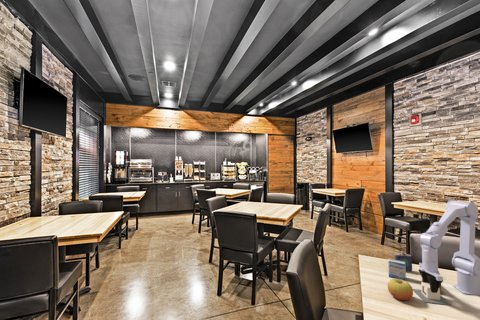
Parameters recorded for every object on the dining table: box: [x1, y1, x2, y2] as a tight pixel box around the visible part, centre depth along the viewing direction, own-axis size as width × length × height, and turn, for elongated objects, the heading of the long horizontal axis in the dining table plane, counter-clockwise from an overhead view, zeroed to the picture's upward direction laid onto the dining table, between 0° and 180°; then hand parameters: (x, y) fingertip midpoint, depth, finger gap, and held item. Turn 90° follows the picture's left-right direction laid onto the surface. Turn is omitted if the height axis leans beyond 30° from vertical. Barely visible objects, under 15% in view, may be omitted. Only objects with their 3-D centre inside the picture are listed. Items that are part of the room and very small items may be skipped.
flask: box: [393, 250, 413, 272], centre depth 136 cm, size 9×3×11 cm, turn 76°
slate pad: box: [412, 288, 452, 306], centre depth 108 cm, size 10×11×1 cm
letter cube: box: [420, 281, 441, 300], centre depth 108 cm, size 5×5×5 cm
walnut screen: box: [421, 278, 445, 296], centre depth 117 cm, size 3×13×6 cm, turn 168°
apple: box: [387, 278, 414, 301], centre depth 108 cm, size 10×10×8 cm
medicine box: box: [387, 258, 407, 281], centre depth 128 cm, size 8×4×9 cm, turn 58°
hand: (430, 289), depth 108 cm, fingers closed on letter cube, 5 cm apart
